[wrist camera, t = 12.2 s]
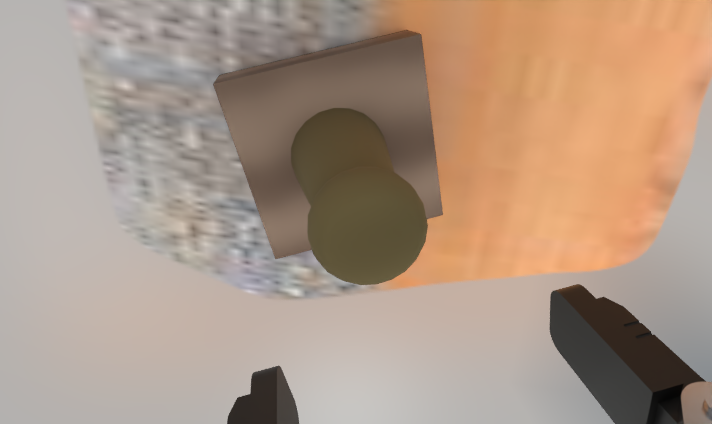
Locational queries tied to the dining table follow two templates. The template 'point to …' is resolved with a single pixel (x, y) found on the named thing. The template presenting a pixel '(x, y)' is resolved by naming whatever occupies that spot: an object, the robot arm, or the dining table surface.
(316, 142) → the olive knob-ended peg
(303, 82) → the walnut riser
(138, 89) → the dining table surface
